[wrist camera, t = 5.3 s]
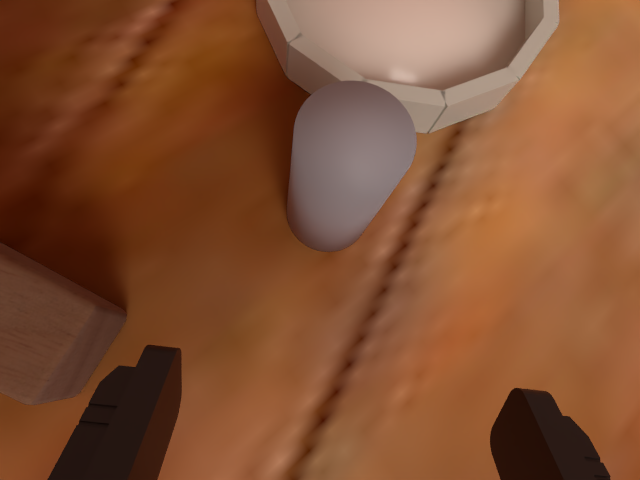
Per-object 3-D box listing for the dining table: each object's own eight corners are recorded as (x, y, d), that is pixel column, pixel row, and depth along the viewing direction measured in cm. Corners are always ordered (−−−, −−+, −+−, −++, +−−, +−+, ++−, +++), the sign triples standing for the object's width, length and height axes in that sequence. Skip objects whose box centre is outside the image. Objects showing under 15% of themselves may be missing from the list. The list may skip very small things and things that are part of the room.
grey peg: (281, 246, 24) (286, 185, 16) (291, 168, 26) (301, 71, 17) (364, 256, 25) (413, 202, 16) (370, 179, 26) (419, 90, 17)
